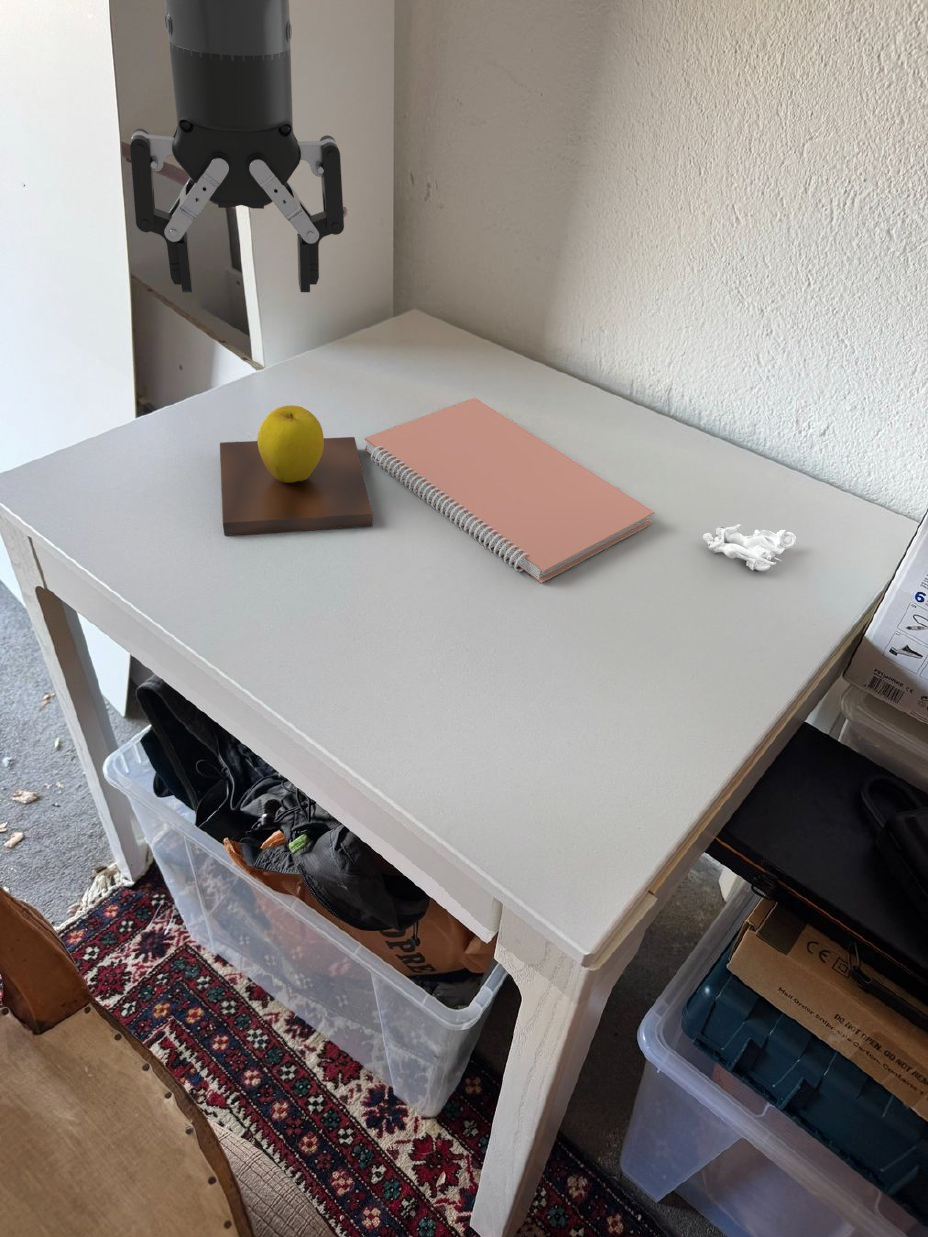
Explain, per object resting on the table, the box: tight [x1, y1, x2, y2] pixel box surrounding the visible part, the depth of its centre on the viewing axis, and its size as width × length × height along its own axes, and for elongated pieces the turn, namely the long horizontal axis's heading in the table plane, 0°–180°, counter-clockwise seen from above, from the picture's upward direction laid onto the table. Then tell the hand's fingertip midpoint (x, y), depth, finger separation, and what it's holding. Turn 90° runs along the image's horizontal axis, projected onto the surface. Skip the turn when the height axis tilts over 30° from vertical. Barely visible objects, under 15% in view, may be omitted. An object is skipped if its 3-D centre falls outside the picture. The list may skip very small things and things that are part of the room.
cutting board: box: [219, 436, 374, 536], centre depth 93 cm, size 14×14×2 cm
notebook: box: [364, 396, 656, 584], centre depth 96 cm, size 27×17×2 cm, turn 41°
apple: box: [256, 404, 325, 483], centre depth 90 cm, size 6×6×8 cm
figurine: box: [702, 523, 797, 572], centre depth 91 cm, size 3×8×8 cm
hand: (246, 288), depth 69 cm, fingers open, 8 cm apart
